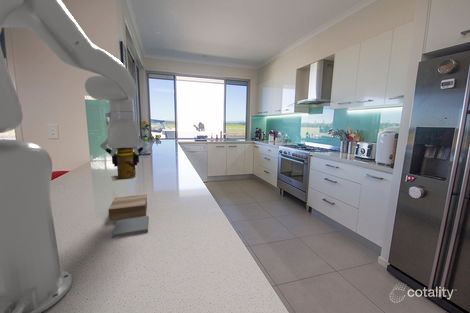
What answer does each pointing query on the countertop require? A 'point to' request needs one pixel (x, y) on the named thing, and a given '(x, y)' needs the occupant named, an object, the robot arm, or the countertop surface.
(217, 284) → the countertop surface
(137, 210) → the block
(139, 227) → the coaster
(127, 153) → the condiment
